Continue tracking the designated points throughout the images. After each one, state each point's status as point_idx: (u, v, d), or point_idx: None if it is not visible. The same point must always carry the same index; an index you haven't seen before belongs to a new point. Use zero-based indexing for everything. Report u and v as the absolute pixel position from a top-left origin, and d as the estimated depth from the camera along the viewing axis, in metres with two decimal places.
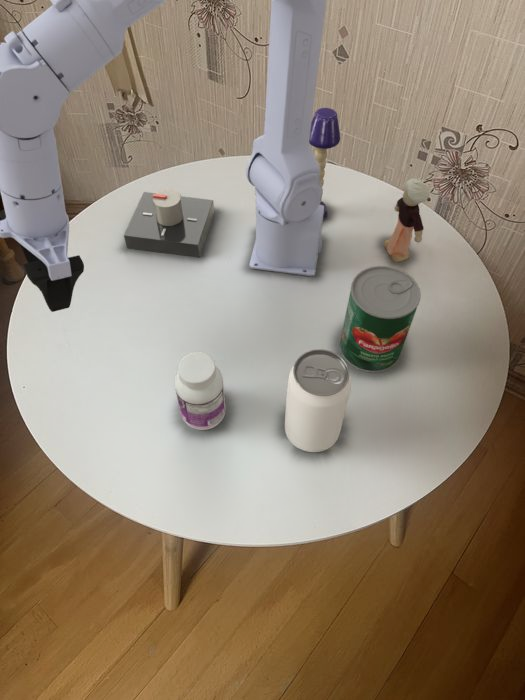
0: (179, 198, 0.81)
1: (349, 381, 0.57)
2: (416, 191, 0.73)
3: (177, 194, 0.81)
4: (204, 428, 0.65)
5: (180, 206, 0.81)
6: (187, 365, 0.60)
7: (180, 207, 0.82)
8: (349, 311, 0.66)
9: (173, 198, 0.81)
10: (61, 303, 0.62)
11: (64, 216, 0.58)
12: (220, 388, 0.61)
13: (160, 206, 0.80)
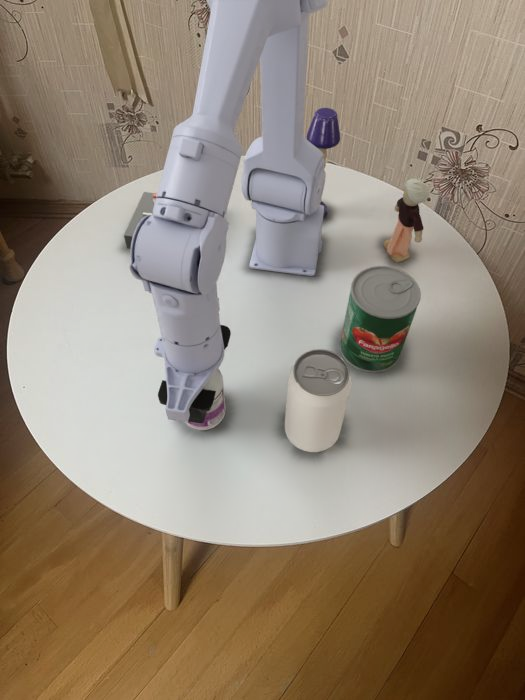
0: None
1: (349, 381, 0.57)
2: (416, 191, 0.73)
3: None
4: (204, 428, 0.65)
5: None
6: None
7: None
8: (349, 311, 0.66)
9: None
10: (194, 418, 0.62)
11: (213, 359, 0.55)
12: (220, 388, 0.61)
13: None
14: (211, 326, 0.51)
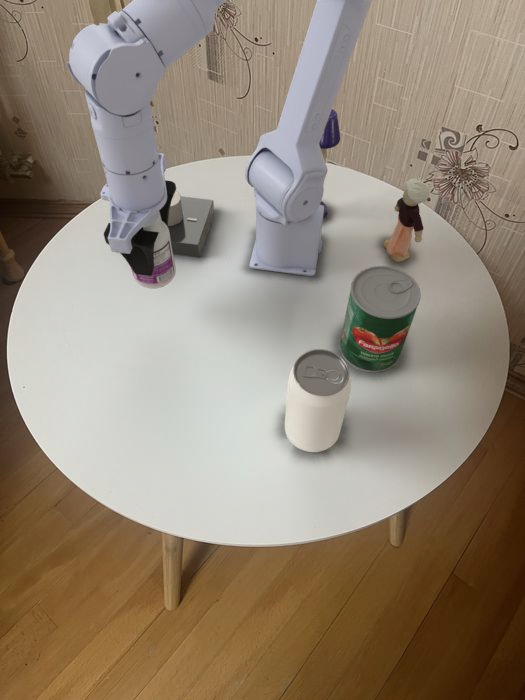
0: (179, 198, 0.81)
1: (349, 381, 0.57)
2: (416, 191, 0.73)
3: (177, 194, 0.81)
4: (154, 286, 0.69)
5: (180, 206, 0.81)
6: None
7: (180, 207, 0.82)
8: (349, 311, 0.66)
9: (173, 198, 0.81)
10: (142, 269, 0.65)
11: (154, 197, 0.59)
12: (166, 239, 0.65)
13: None
14: (132, 161, 0.54)
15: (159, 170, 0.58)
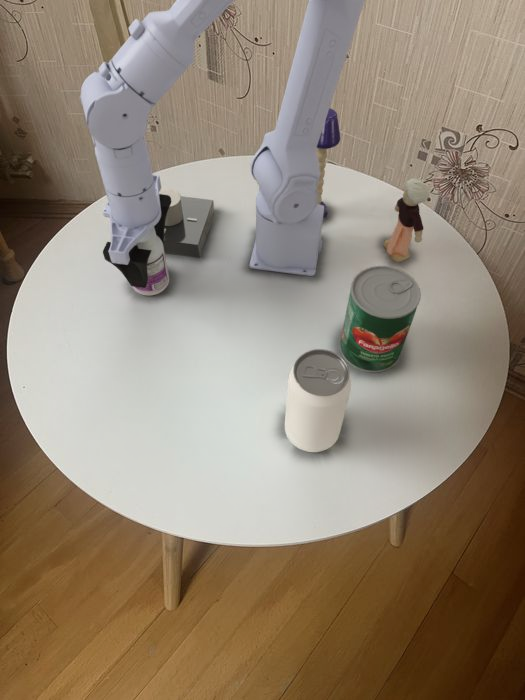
0: (179, 198, 0.81)
1: (349, 381, 0.57)
2: (416, 191, 0.73)
3: (177, 194, 0.81)
4: (150, 293, 0.77)
5: (180, 206, 0.81)
6: None
7: (180, 207, 0.82)
8: (349, 311, 0.66)
9: (173, 198, 0.81)
10: (137, 282, 0.73)
11: (149, 215, 0.67)
12: (160, 252, 0.73)
13: None
14: (123, 185, 0.63)
15: (154, 192, 0.66)
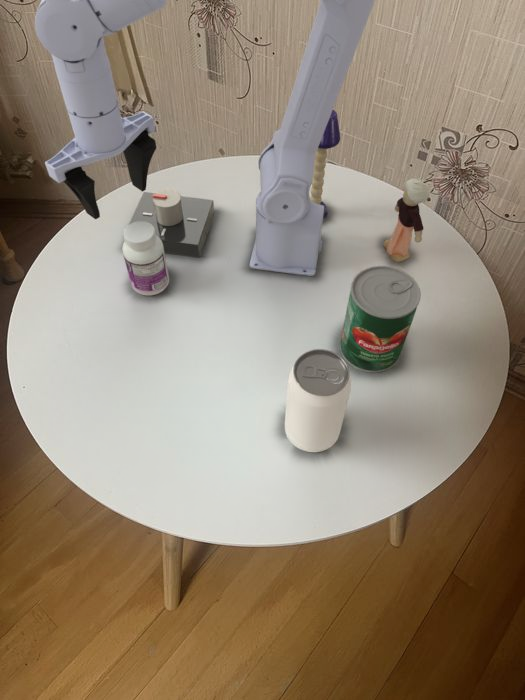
0: (179, 198, 0.81)
1: (349, 381, 0.57)
2: (416, 191, 0.73)
3: (177, 194, 0.81)
4: (150, 293, 0.77)
5: (180, 206, 0.81)
6: (131, 230, 0.72)
7: (180, 207, 0.82)
8: (349, 311, 0.66)
9: (173, 198, 0.81)
10: (89, 210, 0.72)
11: (101, 145, 0.65)
12: (160, 252, 0.73)
13: (160, 206, 0.80)
14: (77, 104, 0.61)
15: (110, 123, 0.63)
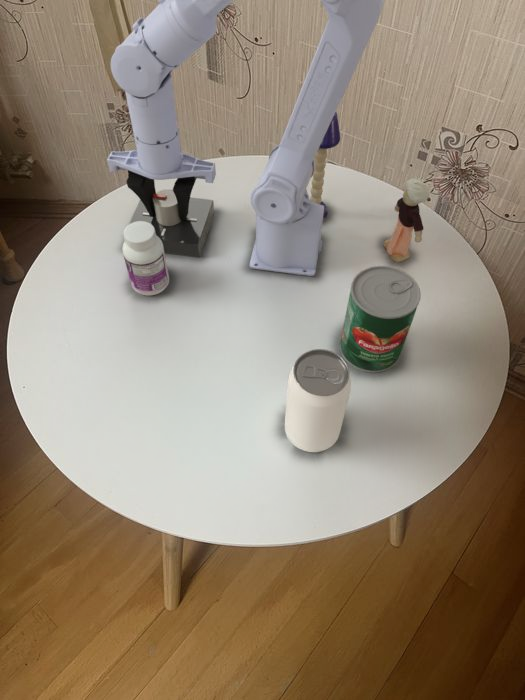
0: None
1: (349, 381, 0.57)
2: (416, 191, 0.73)
3: None
4: (150, 293, 0.77)
5: None
6: (131, 230, 0.72)
7: None
8: (349, 311, 0.66)
9: (173, 198, 0.81)
10: None
11: (143, 164, 0.74)
12: (160, 252, 0.73)
13: (160, 206, 0.80)
14: (139, 131, 0.70)
15: (152, 153, 0.72)
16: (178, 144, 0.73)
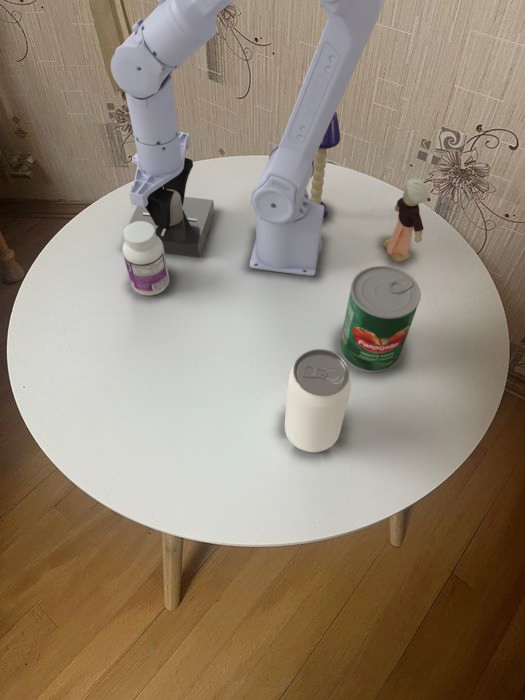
0: (170, 189, 0.82)
1: (349, 381, 0.57)
2: (416, 191, 0.73)
3: None
4: (150, 293, 0.77)
5: None
6: (131, 230, 0.72)
7: None
8: (349, 311, 0.66)
9: None
10: (161, 221, 0.81)
11: (171, 166, 0.74)
12: (160, 252, 0.73)
13: (177, 202, 0.80)
14: (139, 132, 0.70)
15: (177, 145, 0.73)
16: None
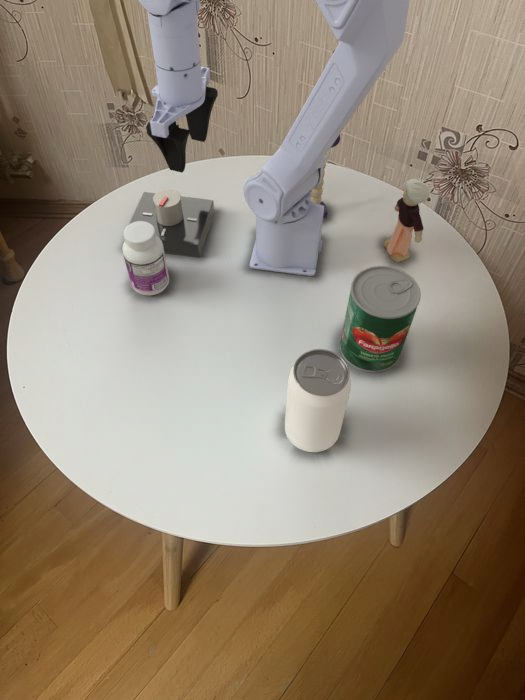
0: (170, 190, 0.82)
1: (349, 381, 0.57)
2: (416, 191, 0.73)
3: (164, 190, 0.82)
4: (150, 293, 0.77)
5: None
6: (131, 230, 0.72)
7: None
8: (349, 311, 0.66)
9: (169, 193, 0.81)
10: (175, 165, 0.78)
11: (192, 95, 0.72)
12: (160, 252, 0.73)
13: (177, 202, 0.80)
14: (155, 53, 0.68)
15: (199, 73, 0.71)
16: None
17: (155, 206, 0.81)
